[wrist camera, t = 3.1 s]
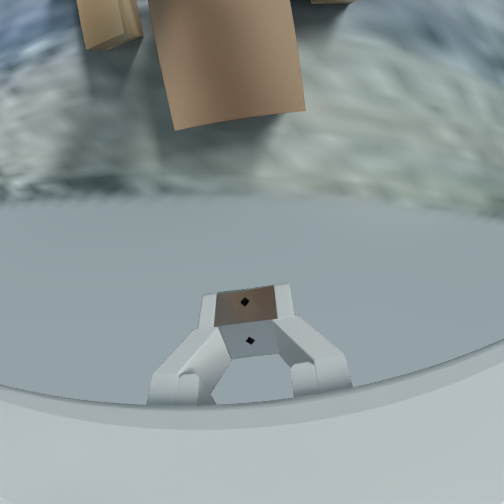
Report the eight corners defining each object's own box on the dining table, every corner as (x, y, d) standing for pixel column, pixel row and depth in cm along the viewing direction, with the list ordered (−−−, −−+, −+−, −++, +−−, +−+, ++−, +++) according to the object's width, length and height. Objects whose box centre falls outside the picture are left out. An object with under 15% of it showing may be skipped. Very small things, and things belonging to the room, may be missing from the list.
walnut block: (275, -7, 12) (283, -30, 8) (291, 98, 16) (305, 110, 12) (173, 11, 13) (146, -4, 9) (193, 113, 17) (175, 130, 13)
